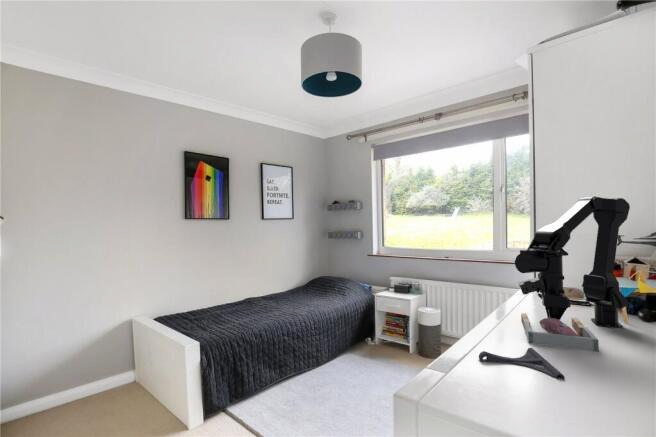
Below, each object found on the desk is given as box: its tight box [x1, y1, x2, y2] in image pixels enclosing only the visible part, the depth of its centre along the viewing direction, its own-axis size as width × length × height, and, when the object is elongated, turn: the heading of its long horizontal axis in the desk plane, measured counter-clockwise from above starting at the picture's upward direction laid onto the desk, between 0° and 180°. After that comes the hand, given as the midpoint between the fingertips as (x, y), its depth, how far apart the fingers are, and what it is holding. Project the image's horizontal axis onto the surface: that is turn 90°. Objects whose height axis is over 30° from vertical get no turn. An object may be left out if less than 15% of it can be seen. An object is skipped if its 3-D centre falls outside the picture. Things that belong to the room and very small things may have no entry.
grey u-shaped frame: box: [524, 321, 599, 353], centre depth 90 cm, size 10×15×3 cm
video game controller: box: [539, 317, 581, 337], centre depth 90 cm, size 10×5×7 cm, turn 5°
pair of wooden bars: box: [520, 312, 586, 337], centre depth 99 cm, size 10×15×2 cm, turn 64°
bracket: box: [478, 347, 566, 380], centre depth 77 cm, size 14×15×3 cm
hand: (552, 322), depth 98 cm, fingers open, 7 cm apart
